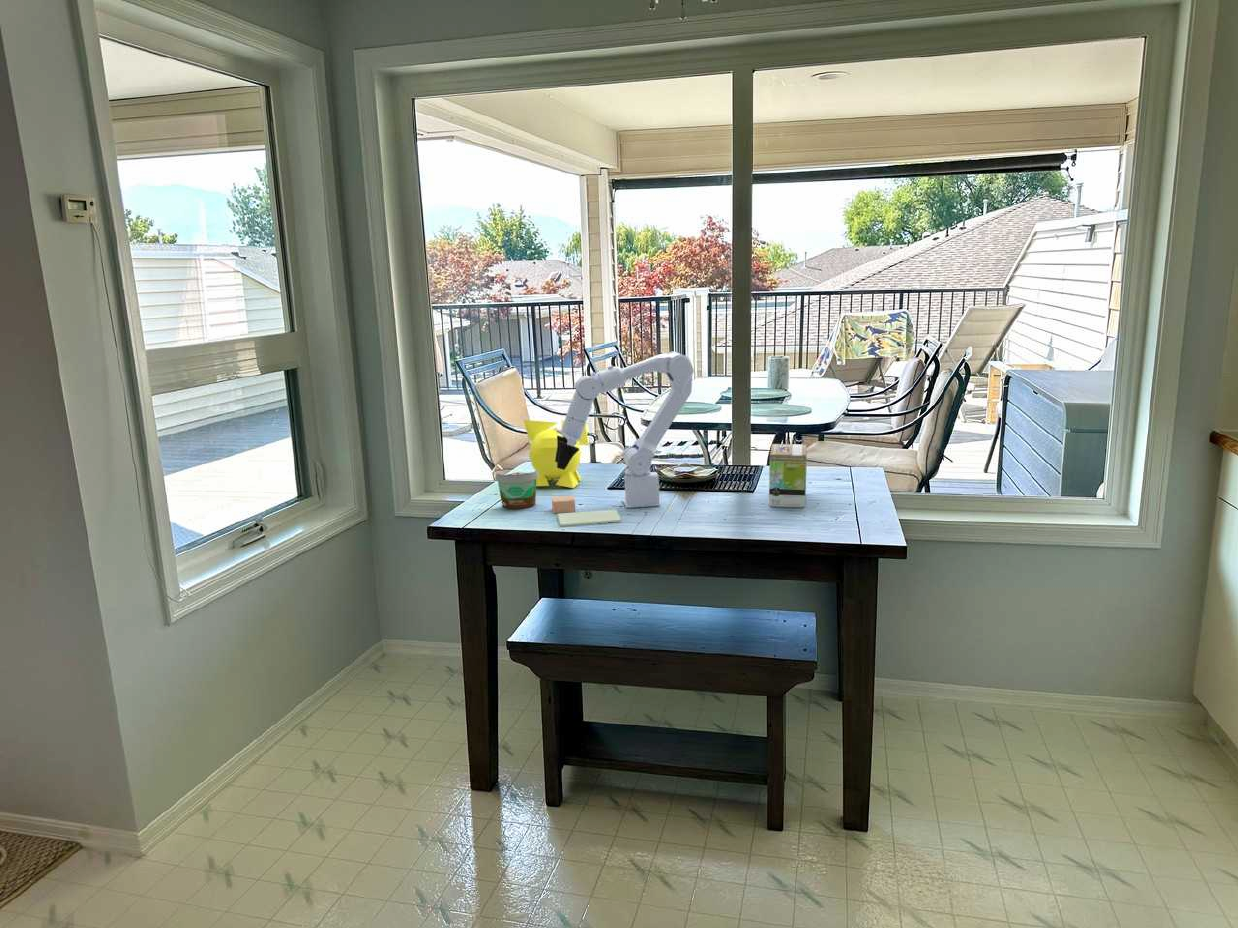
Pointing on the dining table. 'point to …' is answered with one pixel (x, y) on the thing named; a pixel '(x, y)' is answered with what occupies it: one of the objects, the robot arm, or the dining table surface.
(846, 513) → the dining table surface
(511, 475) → the food container
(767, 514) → the dining table surface
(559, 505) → the light orange block
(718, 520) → the dining table surface
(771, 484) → the tea box
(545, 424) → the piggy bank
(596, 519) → the mat
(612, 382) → the robot arm
